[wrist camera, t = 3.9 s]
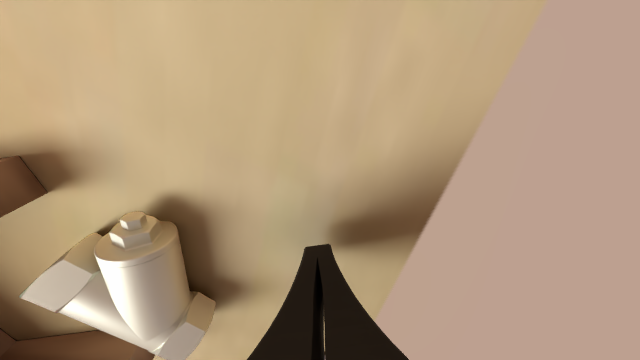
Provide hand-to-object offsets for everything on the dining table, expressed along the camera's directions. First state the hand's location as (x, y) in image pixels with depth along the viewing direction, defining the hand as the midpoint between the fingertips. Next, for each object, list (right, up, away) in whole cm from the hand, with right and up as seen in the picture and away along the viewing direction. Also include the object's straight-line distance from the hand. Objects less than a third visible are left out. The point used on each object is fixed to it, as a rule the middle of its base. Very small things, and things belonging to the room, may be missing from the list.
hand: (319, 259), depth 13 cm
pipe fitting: (-9, -1, +2) cm, 9 cm away
